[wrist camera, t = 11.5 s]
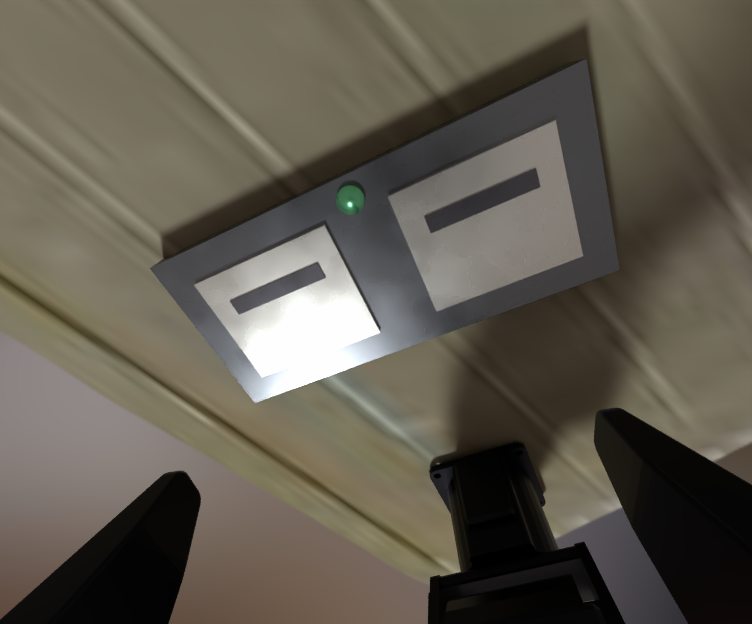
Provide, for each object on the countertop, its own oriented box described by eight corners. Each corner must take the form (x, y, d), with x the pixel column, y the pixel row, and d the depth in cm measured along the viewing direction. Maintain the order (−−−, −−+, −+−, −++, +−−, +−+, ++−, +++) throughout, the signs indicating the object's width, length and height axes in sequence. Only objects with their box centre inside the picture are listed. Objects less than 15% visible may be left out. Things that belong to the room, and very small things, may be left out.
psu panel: (606, 260, 19) (623, 272, 17) (260, 389, 23) (253, 406, 21) (571, 61, 15) (590, 57, 14) (162, 259, 19) (146, 270, 18)
